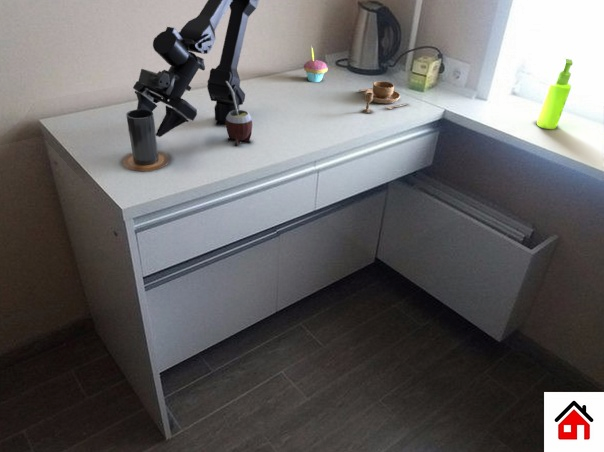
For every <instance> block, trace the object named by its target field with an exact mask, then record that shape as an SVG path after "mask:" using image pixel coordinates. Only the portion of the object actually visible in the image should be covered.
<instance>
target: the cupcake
mask: <svg viewBox="0 0 604 452" xmlns="http://www.w3.org/2000/svg"><path fill="white" fill-rule="evenodd" d="M310 52H311V53H310V54H311V59H310V60H307V61H306V62H305V63H304V64H303V70H304V71H305V73H306V76H307V80H308V81H309V82H311V83H319V82H321V81H322V79H323V77H324V74H325V73H327V72H328V64H326V62H324V61H323V60H320V59H315V55H314V48H313V46H312V45H310Z"/></svg>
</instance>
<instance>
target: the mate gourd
mask: <svg viewBox="0 0 604 452" xmlns="http://www.w3.org/2000/svg"><path fill="white" fill-rule="evenodd" d="M226 83H227V85H228V86H229V88H230V90H231V94H232V97H233V101H234V105H235V110H233V111H231V112H229V114H228V115H227V117H226V123H225V124H226V125H225V128H226V132H227V136H228V138H227V140H228V141H229V142H235V143H234V146H235V147H239V145H240V144H241V143H244V144H251V137H252V131H253V120H252V116H251V114H250V113H249V112H248V111H247V110H245V109H244V110H243V109H239V110H238V109H237V105H236V100H235V96H234V95H235V94H234V91H233V89H232V87H231V86H230V84H229V83H228V81H226Z"/></svg>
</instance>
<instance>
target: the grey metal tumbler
mask: <svg viewBox="0 0 604 452" xmlns="http://www.w3.org/2000/svg"><path fill="white" fill-rule="evenodd" d="M125 118H126V123H127V130H128V136H129V142H130V149H131V154H132V155H133V161H134V163H136V164H138V165H151V164H154V163H156V162H157V161H158V160H159V156H158V151H159V148H158V140H157V135H156V133H157V131H156V126H155V125H156V124H155V116H154V112H153V111H150V110H146V109H137V108H136V109H132V110H129V111H128V112H126V114H125Z"/></svg>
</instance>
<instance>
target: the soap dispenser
mask: <svg viewBox="0 0 604 452" xmlns="http://www.w3.org/2000/svg"><path fill="white" fill-rule="evenodd" d="M563 62H564V64H563V68H562V70H560V71H558V73H557V75H556V78H555V81H550V82H549V85H548V87H547V91H546V94H545V97H544V99H543V103H542V106H541V109H540V112H539V115H538V118H537V121H536V126H538V127H539V128H542V129H546V130H556V129H557V127H558V124H559V122H560V119H561V116H562V113H563V111H564V108H565V105H566V103H567V99H568V96H569V94H570V91H571V88H572V85H571V84H569V81H570V78H571V75H572V74H571V72H570V70H571V69H570V68H571V66H573V63H574V62H573V60H572V59H569V58H563Z"/></svg>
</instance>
